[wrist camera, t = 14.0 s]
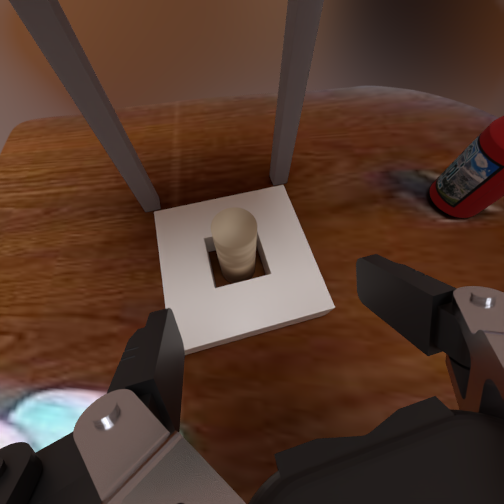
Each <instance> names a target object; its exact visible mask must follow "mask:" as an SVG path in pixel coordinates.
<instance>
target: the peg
mask: <svg viewBox="0 0 504 504" xmlns="http://www.w3.org/2000/svg"><path fill="white" fill-rule="evenodd" d="M211 233H212V237H213V241H214V244H215V248H216V252H217V256H218V259H219V263H220V267H221V271H222V274H223V276H224V278H225V279H226V280H227V281H229V282H230V283H233V284H234V283H238V282H242V281H246V280H250V279H251V278H252V276H253V274H254V271H255V257H256V241H257V222H256V219H255V217H254V216H253V215H252V214H251V213H250V212H249V211H247V210H245V209H242V208H236V207H233V208H227V209H224V210H222V211H220V212H219V213H218V214H217V215H216V216H215V217H214V218H213V220H212V223H211Z"/></svg>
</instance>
